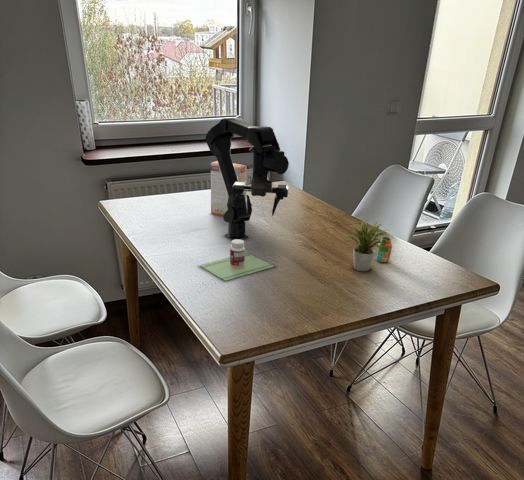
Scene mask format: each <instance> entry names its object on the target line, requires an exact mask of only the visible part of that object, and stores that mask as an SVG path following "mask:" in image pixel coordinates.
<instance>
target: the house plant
mask: <svg viewBox="0 0 524 480" xmlns="http://www.w3.org/2000/svg"><path fill="white" fill-rule="evenodd" d="M377 224H378V221H376V222H375V223H374V224H373V225H372V227H371V228H370V229H369V227H368V220H367V219H365V222H364V220H363V219H361V224H360V226H358V227H360V230H358V228H357V227H356V226H355V225H354V224H352V227H353V228H354V230H353V229H352V230H353V232H354V233H355V234H356V237H357V238H358V240H357V238H355V237H354V236H353V235H348V236H347V238H348V239H351V240H352V241H354V242H355V246H354V248H353V249H352V251H353V269H354V270H356V271H359V272H368V271H369V270H370V268H371V265H372V262H373V260H374V256H375V252H376V250H374V249H373V248H374V247H377V249H378V248H379V249H380V247H379V245H378V244H379V243H383V242H381V241H382V240H385V239H382V240H381V239H380V238H378V237H379V236H382V235H383V236H384V235H386V234H388V232H387V231H388V229H384V230H381V231H378V230H379V228H380V227H381V226H382V225H383V223H380V224H378V225H377Z"/></svg>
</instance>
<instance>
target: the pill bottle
mask: <svg viewBox="0 0 524 480" xmlns="http://www.w3.org/2000/svg"><path fill="white" fill-rule="evenodd" d="M230 245H231V246H230V248H229V258H230V266H231V267H233V268H242V267H244V265H245V254H246V247H245V241H244V239H235V240H232V239H231V243H230Z"/></svg>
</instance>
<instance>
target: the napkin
mask: <svg viewBox="0 0 524 480" xmlns="http://www.w3.org/2000/svg"><path fill="white" fill-rule="evenodd" d="M199 267H200V268H202V269H203V270H205V271H207V272H209V273H211V274H212V275H214V276H215V277H217V278H219V279H221V280H222V281H224V282H227V281H230V280H234V279H239V278H241V277H245V276H249V275H252V274H255V273H259V272H262V271H265V270H269V269H272V268H275V266H274V265H272V264H270V263H268V262H266V261H265V260H263V259H261V258H260V257H259V258H258V257H257V256H254V255H252V254H250V253H245V265H244V267H242V268H233V267H231V266H230V257H229V258H228V257H227V258H224V259H221V260H215V261H213V262H209V263H205V264H201V265H199Z"/></svg>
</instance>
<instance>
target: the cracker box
mask: <svg viewBox="0 0 524 480" xmlns="http://www.w3.org/2000/svg"><path fill="white" fill-rule="evenodd" d="M233 165H234V169H235V172H236V175H237V178H238V182H245V183H246V184H247V169H248V168H247V165H245V164H240V163H234V162H233ZM228 198H229V196H228V192H227V189H226V186H225V183H224V180H223V176H222V173H221V170H220V167H219V163H218V160H216V161H212V162H210V213H211V214H212V215H216V216H220V217H223V215H224V214H225V212H226V211H227V210H228V208H227V202H228Z"/></svg>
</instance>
